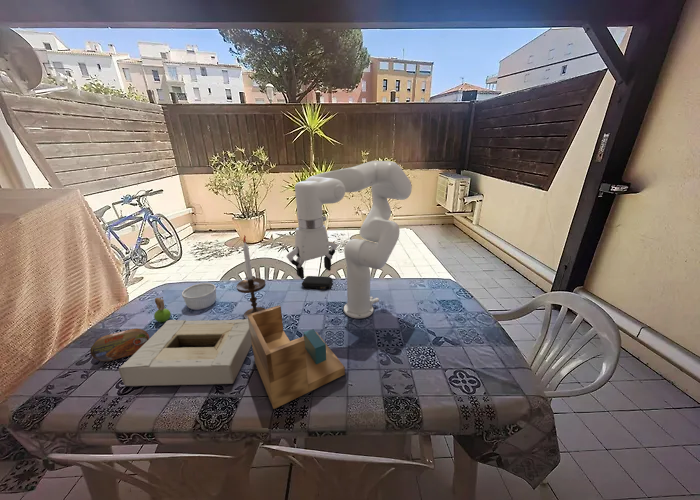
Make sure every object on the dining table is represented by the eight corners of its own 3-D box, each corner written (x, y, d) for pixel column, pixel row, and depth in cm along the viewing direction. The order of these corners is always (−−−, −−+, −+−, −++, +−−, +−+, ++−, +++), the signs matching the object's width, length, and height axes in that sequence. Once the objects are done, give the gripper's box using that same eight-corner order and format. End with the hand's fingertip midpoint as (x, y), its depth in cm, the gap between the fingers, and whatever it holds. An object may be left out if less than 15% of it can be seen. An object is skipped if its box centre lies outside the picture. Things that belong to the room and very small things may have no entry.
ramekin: (223, 302, 121) (220, 289, 119) (192, 315, 112) (188, 300, 110) (210, 293, 130) (208, 280, 127) (180, 304, 120) (177, 290, 118)
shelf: (316, 338, 98) (314, 294, 92) (344, 374, 82) (344, 325, 76) (254, 362, 87) (247, 314, 81) (273, 409, 71) (266, 354, 65)
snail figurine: (161, 327, 105) (153, 300, 100) (153, 322, 108) (145, 295, 104) (176, 320, 109) (169, 294, 105) (167, 315, 112) (160, 290, 108)
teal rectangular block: (314, 343, 91) (313, 328, 89) (326, 360, 84) (325, 344, 82) (304, 347, 89) (303, 332, 87) (316, 364, 82) (315, 348, 80)
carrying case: (300, 289, 132) (329, 291, 131) (299, 284, 131) (329, 285, 130) (305, 279, 142) (333, 281, 141) (305, 274, 141) (333, 276, 140)
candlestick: (273, 316, 111) (263, 235, 99) (246, 326, 105) (232, 240, 93) (263, 305, 119) (253, 228, 107) (238, 313, 113) (224, 233, 101)
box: (258, 333, 101) (170, 335, 100) (255, 316, 98) (165, 317, 97) (236, 385, 79) (123, 388, 78) (232, 365, 77) (115, 367, 75)
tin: (94, 365, 86) (85, 343, 83) (98, 358, 89) (89, 337, 86) (151, 349, 93) (144, 329, 90) (152, 344, 96) (146, 324, 93)
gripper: (329, 215, 90) (331, 262, 96) (279, 225, 81) (285, 276, 87) (341, 220, 84) (343, 270, 90) (288, 231, 75) (294, 285, 81)
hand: (314, 273), depth 89 cm, fingers open, 9 cm apart
